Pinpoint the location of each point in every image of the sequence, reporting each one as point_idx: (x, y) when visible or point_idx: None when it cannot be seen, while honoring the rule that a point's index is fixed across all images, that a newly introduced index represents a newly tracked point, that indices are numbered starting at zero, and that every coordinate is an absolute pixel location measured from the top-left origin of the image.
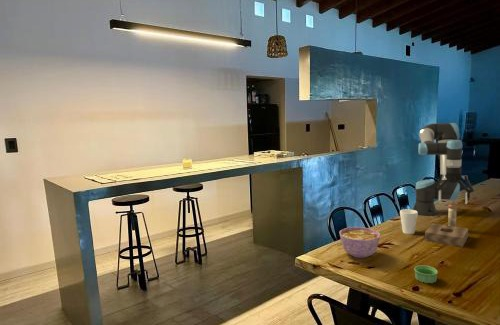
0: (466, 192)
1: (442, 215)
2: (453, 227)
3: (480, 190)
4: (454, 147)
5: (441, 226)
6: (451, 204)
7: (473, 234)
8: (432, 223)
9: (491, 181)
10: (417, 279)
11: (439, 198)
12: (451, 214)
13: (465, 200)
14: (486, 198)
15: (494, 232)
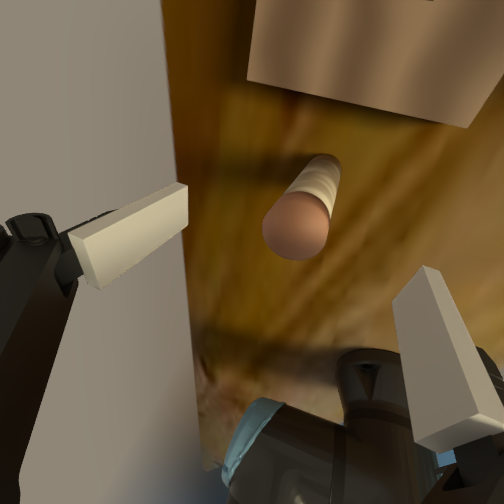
0: (85, 262)
1: (320, 346)
2: (330, 64)
3: (220, 447)
4: None
5: (420, 51)
6: (300, 240)
7: (240, 141)
8: (470, 122)
9: (206, 465)
10: None
11: (438, 290)
12: (317, 179)
13: (163, 198)
14: (210, 417)
15: None
